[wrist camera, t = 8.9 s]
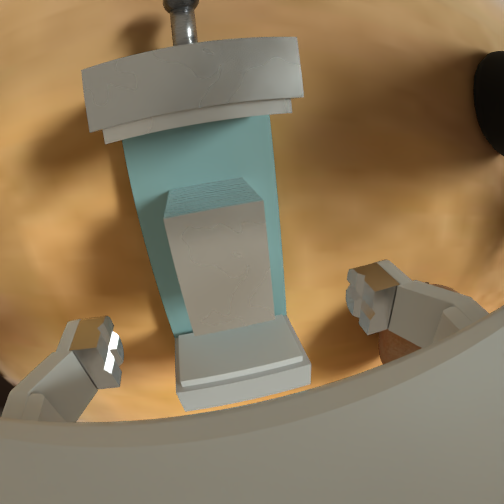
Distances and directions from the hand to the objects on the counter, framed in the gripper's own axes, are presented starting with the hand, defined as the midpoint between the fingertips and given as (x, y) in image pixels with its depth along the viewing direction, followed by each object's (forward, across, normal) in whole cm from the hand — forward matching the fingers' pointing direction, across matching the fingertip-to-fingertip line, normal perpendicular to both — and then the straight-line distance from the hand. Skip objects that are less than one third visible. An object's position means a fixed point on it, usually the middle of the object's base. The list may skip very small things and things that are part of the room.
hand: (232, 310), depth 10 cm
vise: (+10, 0, 0) cm, 10 cm away
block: (+8, 0, +1) cm, 8 cm away
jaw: (+8, 0, -9) cm, 13 cm away
